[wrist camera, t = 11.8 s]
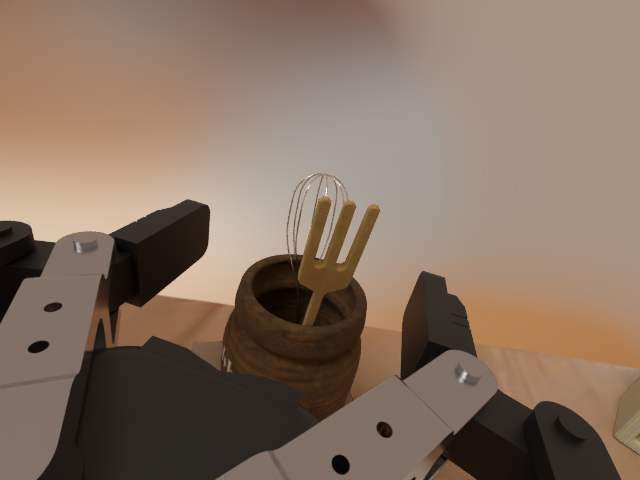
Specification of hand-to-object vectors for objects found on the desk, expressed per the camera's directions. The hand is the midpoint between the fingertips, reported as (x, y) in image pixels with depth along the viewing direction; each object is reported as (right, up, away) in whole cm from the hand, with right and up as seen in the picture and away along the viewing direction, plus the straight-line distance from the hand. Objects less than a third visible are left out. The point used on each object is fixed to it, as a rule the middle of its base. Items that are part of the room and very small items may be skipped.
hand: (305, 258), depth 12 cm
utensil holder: (-2, -7, +4) cm, 9 cm away
